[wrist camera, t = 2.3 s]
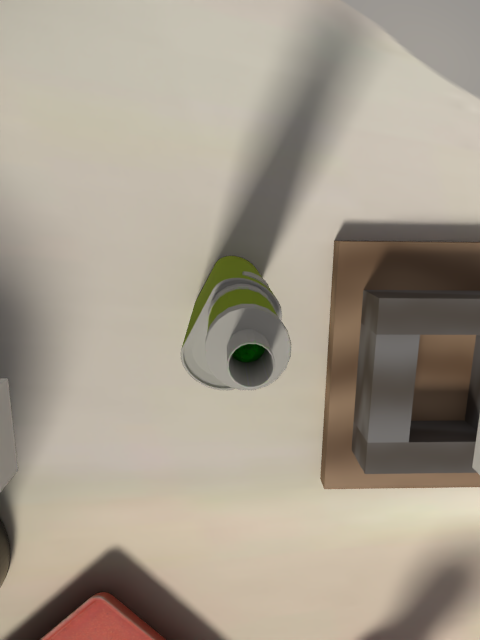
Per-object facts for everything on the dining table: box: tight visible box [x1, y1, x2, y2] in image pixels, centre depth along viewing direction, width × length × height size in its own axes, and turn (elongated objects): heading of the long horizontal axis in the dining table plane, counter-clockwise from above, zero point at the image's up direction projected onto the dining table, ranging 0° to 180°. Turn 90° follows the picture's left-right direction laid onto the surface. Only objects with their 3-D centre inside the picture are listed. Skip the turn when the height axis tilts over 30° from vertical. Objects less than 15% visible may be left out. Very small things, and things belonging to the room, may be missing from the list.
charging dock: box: [320, 241, 480, 489], centre depth 34 cm, size 20×16×5 cm
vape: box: [181, 256, 291, 390], centre depth 25 cm, size 4×6×20 cm, turn 152°
